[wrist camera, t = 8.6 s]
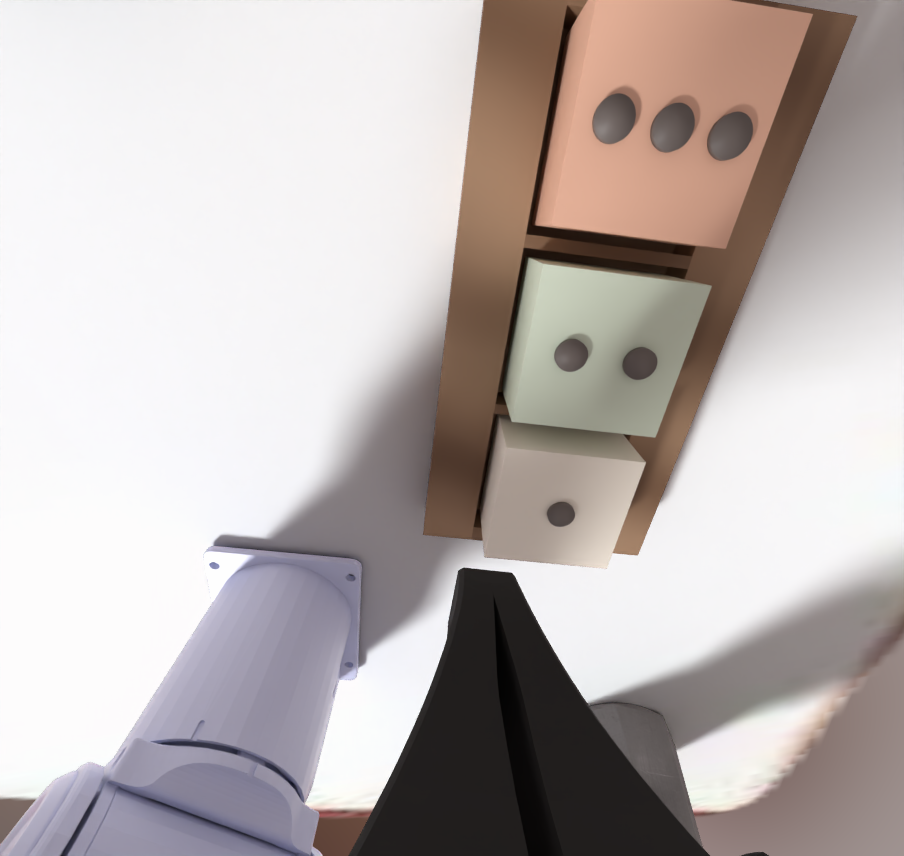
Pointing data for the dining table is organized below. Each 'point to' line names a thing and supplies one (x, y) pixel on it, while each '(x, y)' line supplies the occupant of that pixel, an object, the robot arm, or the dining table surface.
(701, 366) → the board
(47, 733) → the dining table surface
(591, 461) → the beige block
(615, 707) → the coffeepot
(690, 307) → the pale green knobbed block
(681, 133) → the peach block
